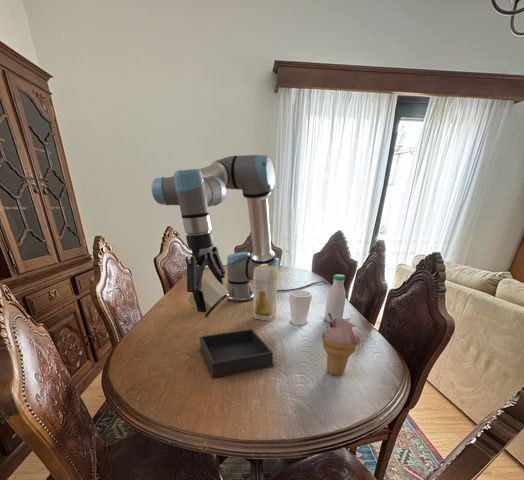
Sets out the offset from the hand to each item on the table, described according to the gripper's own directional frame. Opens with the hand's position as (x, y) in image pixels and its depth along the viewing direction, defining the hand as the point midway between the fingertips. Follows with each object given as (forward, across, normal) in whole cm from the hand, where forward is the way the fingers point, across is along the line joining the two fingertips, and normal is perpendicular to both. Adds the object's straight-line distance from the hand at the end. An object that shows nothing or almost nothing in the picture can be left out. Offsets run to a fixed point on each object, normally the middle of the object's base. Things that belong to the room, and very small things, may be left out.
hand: (211, 304), depth 93 cm
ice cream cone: (+21, -2, +40) cm, 45 cm away
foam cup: (+22, -36, +18) cm, 46 cm away
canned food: (+23, -29, +36) cm, 52 cm away
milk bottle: (+24, -45, +32) cm, 60 cm away
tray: (+18, +3, +7) cm, 19 cm away
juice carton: (+21, -35, +2) cm, 41 cm away
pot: (-2, 0, 0) cm, 2 cm away
